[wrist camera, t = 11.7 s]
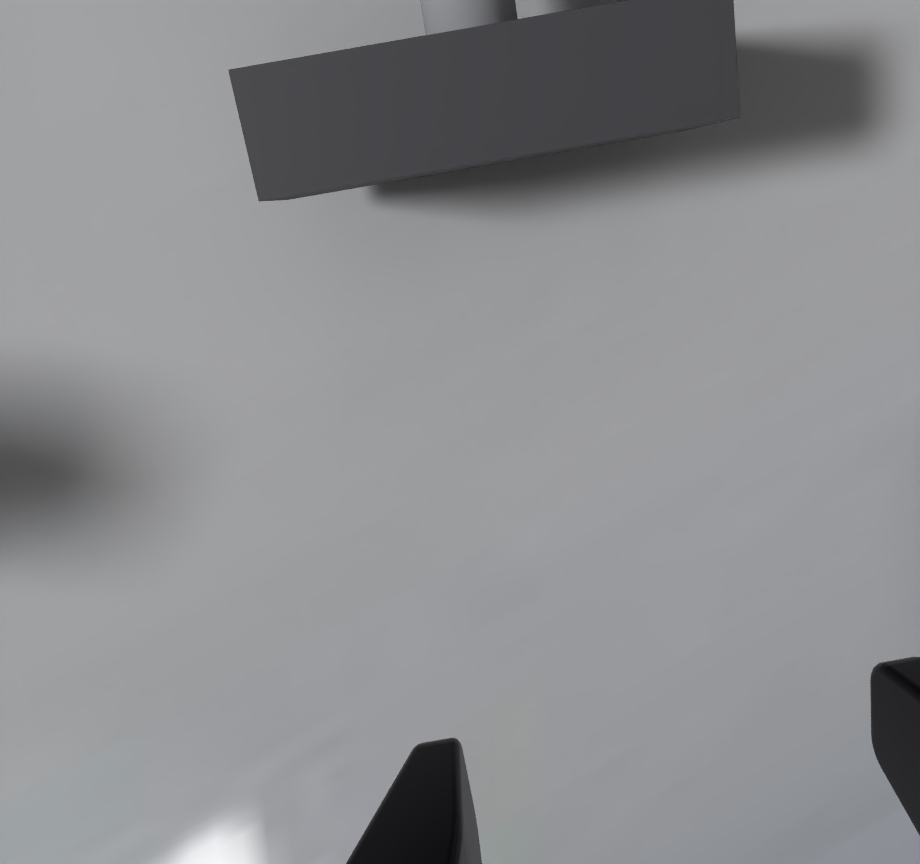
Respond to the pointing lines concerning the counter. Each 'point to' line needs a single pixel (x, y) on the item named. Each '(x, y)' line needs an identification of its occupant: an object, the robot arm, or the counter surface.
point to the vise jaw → (486, 92)
